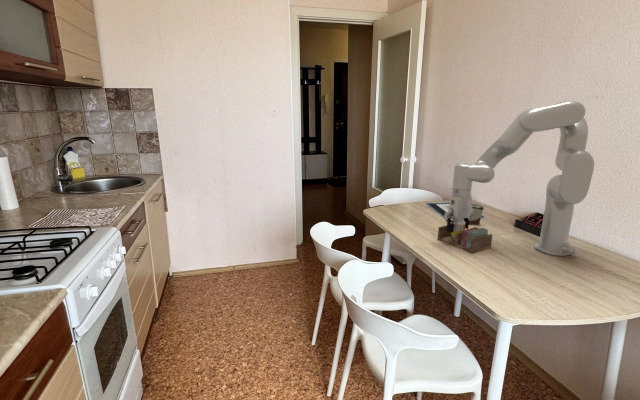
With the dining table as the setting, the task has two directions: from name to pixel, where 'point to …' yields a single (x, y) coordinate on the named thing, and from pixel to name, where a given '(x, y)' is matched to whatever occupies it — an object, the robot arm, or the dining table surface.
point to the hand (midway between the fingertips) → (457, 229)
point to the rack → (467, 239)
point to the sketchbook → (441, 208)
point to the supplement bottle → (458, 227)
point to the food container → (476, 214)
